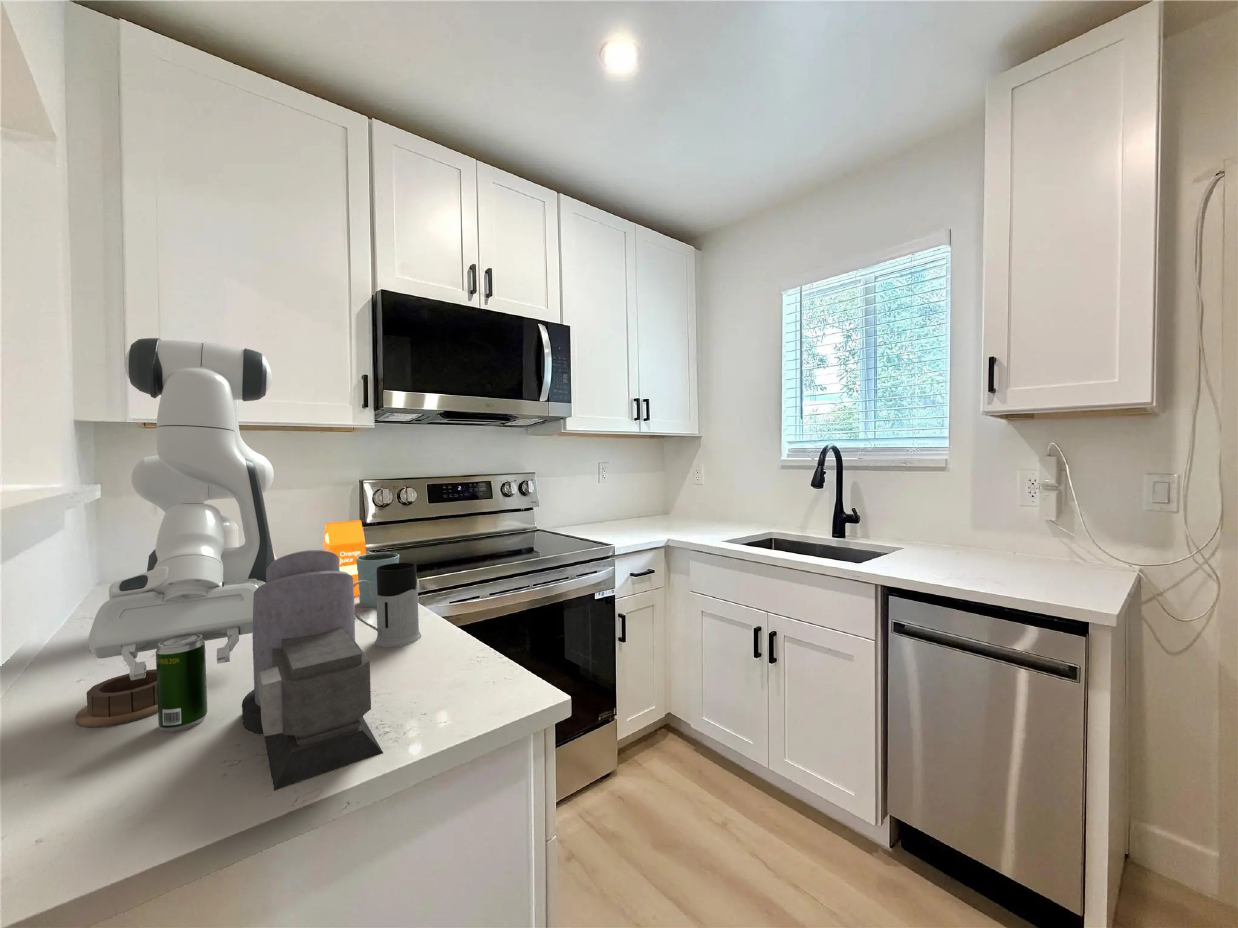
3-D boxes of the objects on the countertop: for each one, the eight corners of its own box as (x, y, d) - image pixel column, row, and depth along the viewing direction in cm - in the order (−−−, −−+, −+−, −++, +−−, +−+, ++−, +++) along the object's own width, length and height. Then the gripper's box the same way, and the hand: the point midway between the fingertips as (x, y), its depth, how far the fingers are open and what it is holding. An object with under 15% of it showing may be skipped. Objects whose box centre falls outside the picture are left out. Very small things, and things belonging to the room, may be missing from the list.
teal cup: (370, 596, 140) (369, 552, 139) (407, 596, 139) (406, 551, 139) (348, 608, 129) (347, 560, 129) (388, 608, 129) (387, 559, 129)
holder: (430, 636, 108) (428, 564, 108) (364, 659, 97) (361, 579, 96) (405, 628, 113) (403, 560, 113) (339, 650, 102) (337, 573, 101)
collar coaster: (65, 713, 78) (64, 688, 78) (166, 682, 88) (166, 660, 88) (90, 735, 71) (89, 708, 71) (196, 699, 82) (196, 675, 82)
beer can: (199, 728, 73) (196, 643, 73) (151, 736, 71) (147, 649, 71) (213, 710, 78) (210, 631, 78) (168, 717, 76) (165, 636, 76)
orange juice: (367, 594, 142) (365, 521, 141) (330, 600, 136) (328, 524, 136) (359, 588, 148) (357, 518, 147) (324, 594, 142) (322, 521, 142)
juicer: (240, 700, 81) (234, 544, 81) (353, 672, 91) (349, 533, 91) (250, 800, 58) (243, 580, 57) (401, 747, 68) (396, 560, 67)
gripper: (267, 587, 90) (269, 662, 82) (103, 609, 78) (87, 698, 70) (267, 566, 86) (269, 642, 78) (94, 585, 75) (77, 676, 67)
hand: (181, 668), depth 74 cm, fingers open, 8 cm apart
